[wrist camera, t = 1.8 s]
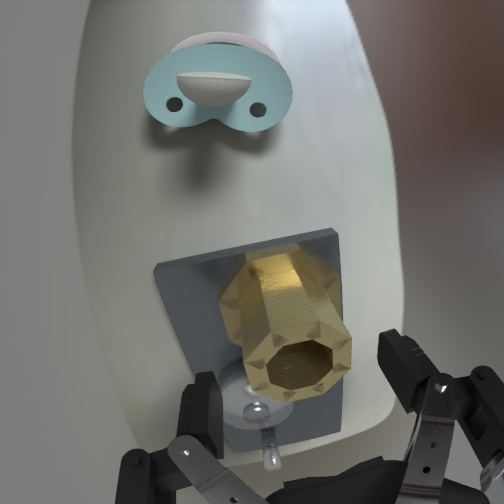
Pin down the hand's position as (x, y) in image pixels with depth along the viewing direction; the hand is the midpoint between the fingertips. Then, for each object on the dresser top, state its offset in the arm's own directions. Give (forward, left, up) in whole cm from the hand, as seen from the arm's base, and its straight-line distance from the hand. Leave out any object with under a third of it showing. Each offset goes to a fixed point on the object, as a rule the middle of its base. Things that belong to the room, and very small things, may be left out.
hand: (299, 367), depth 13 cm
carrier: (+7, -2, -7) cm, 10 cm away
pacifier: (-14, -1, -7) cm, 16 cm away
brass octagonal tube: (0, 0, -6) cm, 6 cm away
